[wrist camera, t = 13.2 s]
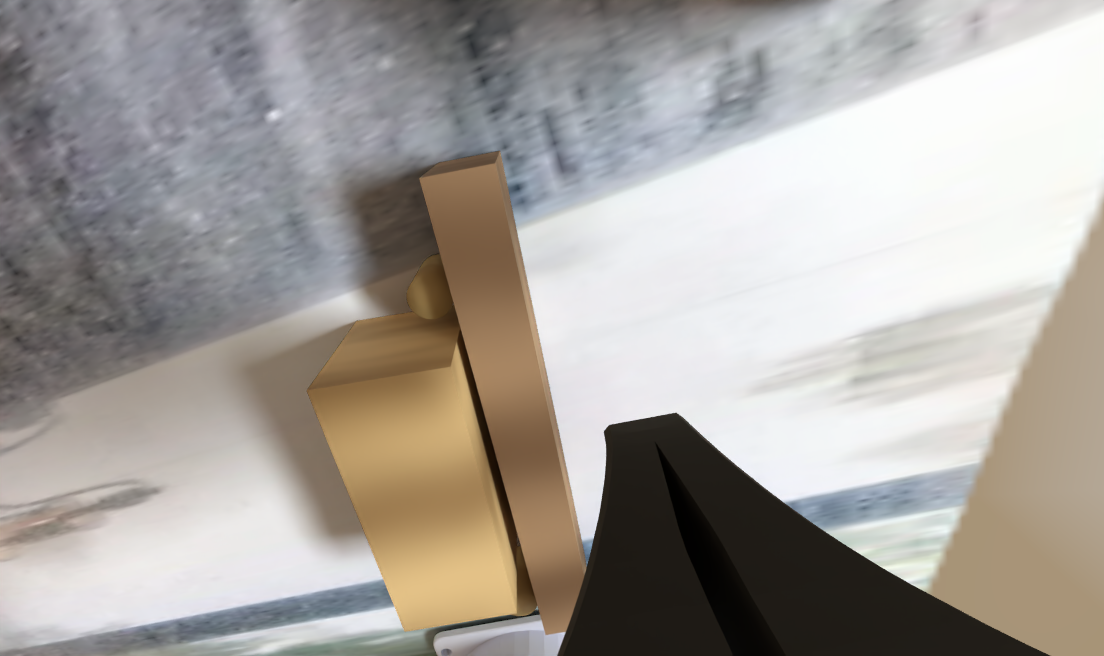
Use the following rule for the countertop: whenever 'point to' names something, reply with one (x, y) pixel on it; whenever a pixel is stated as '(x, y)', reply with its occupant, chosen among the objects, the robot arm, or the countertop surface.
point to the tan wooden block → (421, 468)
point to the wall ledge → (504, 371)
